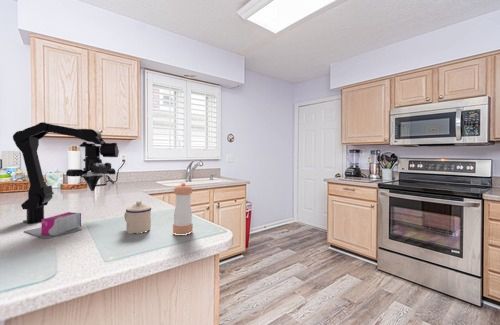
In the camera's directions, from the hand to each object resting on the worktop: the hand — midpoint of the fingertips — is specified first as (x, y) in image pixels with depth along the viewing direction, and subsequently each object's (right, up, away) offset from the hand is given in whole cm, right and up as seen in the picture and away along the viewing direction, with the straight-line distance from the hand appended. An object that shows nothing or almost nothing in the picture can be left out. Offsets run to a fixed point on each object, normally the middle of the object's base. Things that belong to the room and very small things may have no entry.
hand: (92, 190), depth 109 cm
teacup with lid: (+28, -14, -15) cm, 35 cm away
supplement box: (+1, -10, -12) cm, 16 cm away
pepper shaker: (+47, -14, -18) cm, 52 cm away
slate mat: (-3, -13, -18) cm, 23 cm away
